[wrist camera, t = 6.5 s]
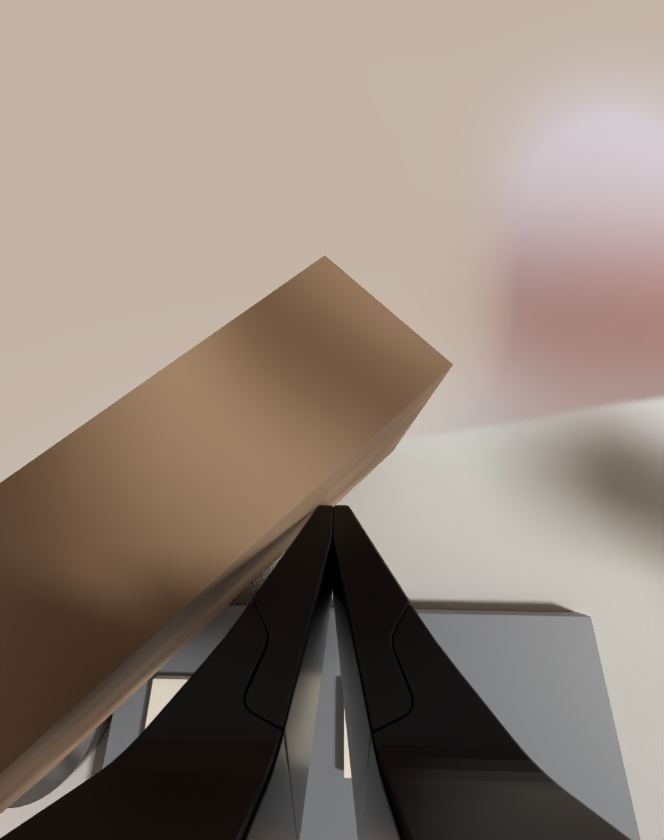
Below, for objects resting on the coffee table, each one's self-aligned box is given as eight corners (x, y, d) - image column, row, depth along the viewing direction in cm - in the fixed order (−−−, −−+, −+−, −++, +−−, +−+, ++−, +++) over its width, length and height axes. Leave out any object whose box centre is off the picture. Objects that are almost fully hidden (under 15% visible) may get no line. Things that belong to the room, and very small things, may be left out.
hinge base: (35, 827, 11) (13, 849, 10) (-45, 721, 12) (-71, 734, 11) (141, 687, 12) (129, 696, 12) (60, 602, 14) (44, 606, 13)
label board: (102, 830, 11) (78, 861, 10) (145, 603, 13) (129, 609, 12) (625, 847, 11) (656, 881, 10) (575, 612, 13) (596, 618, 12)
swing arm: (-8, 825, 10) (-876, 1565, 3) (-55, 705, 11) (-776, 1026, 4) (392, 451, 14) (452, 364, 7) (330, 388, 15) (324, 255, 8)
